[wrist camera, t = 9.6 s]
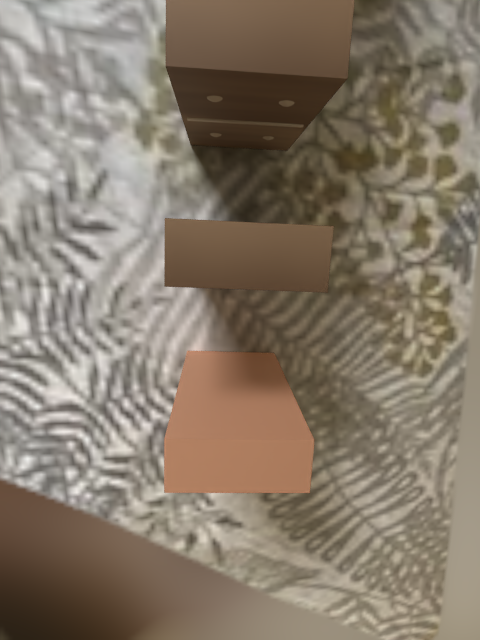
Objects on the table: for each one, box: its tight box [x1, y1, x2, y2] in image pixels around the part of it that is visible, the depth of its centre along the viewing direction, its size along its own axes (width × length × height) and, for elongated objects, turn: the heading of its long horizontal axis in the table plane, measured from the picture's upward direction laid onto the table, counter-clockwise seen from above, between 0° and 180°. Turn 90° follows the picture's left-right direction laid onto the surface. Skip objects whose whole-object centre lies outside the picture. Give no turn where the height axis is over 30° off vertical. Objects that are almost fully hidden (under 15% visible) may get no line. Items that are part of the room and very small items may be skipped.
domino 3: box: [164, 351, 314, 493], centre depth 18 cm, size 2×5×10 cm, turn 88°
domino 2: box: [165, 218, 334, 293], centre depth 17 cm, size 2×5×10 cm, turn 87°
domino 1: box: [166, 0, 355, 151], centre depth 16 cm, size 2×5×10 cm, turn 88°
